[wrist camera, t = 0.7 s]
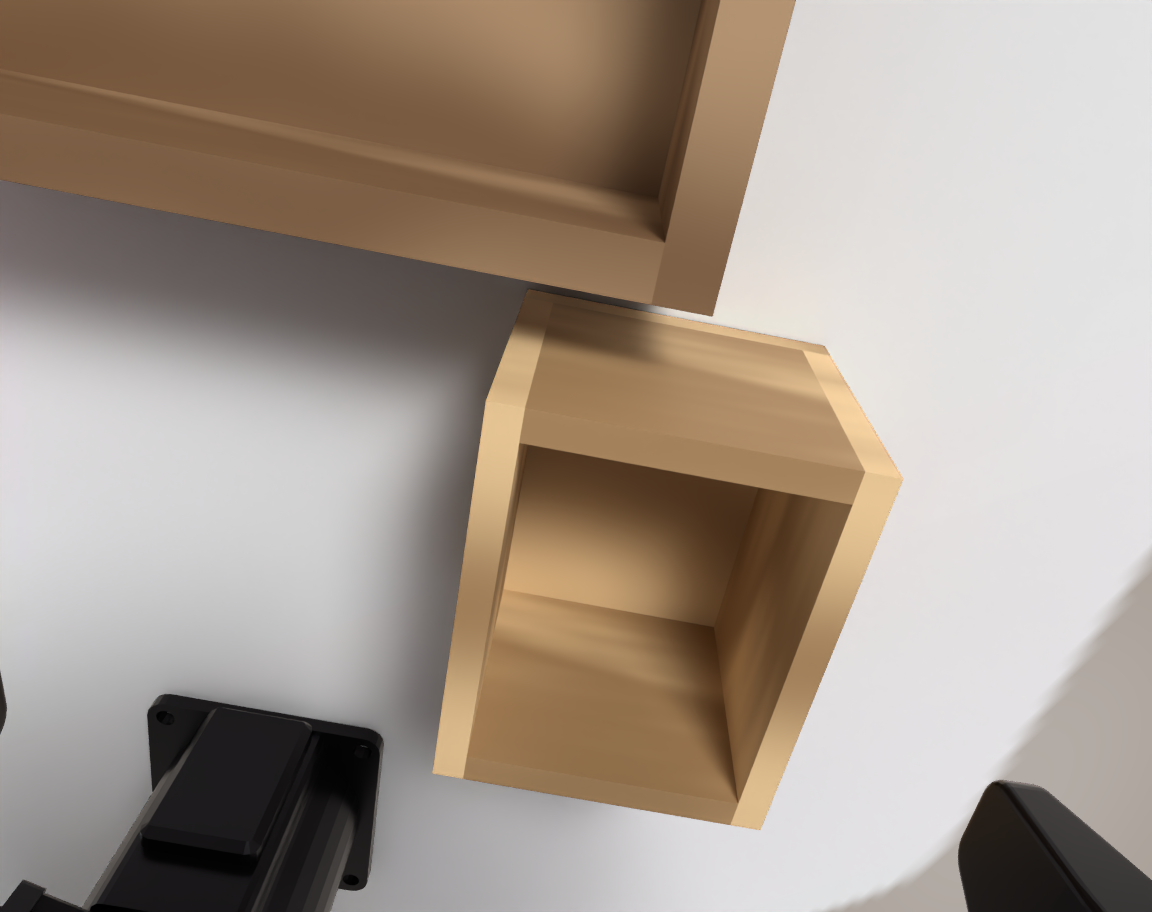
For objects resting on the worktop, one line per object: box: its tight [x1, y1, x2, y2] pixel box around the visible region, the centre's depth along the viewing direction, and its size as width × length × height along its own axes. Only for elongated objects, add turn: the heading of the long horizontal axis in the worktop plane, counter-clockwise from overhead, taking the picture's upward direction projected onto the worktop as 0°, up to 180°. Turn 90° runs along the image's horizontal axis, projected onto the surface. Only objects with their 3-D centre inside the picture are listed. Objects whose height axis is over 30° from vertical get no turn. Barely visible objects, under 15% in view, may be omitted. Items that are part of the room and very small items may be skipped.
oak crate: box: [432, 289, 903, 830], centre depth 18 cm, size 8×6×6 cm
